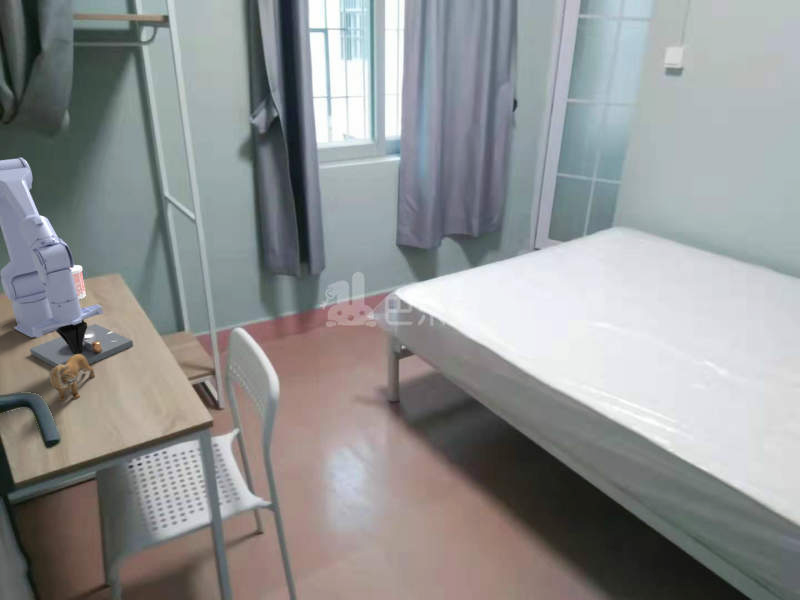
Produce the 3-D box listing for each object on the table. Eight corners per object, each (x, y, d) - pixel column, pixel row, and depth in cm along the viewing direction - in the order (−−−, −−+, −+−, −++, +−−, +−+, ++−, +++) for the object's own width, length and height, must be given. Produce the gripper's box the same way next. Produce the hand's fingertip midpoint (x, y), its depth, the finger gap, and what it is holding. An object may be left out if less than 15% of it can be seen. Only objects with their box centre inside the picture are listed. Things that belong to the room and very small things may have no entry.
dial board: (31, 354, 134) (29, 348, 134) (96, 329, 146) (95, 323, 146) (67, 374, 126) (65, 368, 125) (133, 345, 138) (132, 339, 138)
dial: (60, 345, 135) (58, 336, 134) (87, 334, 140) (85, 326, 139) (86, 358, 129) (84, 349, 128) (113, 346, 134) (111, 338, 133)
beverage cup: (76, 292, 168) (65, 247, 162) (93, 294, 167) (83, 249, 161) (60, 300, 163) (47, 254, 157) (77, 303, 161) (66, 256, 156)
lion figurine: (81, 407, 115) (70, 369, 111) (52, 411, 113) (40, 372, 110) (98, 370, 128) (89, 335, 124) (72, 373, 126) (62, 338, 123)
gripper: (37, 314, 116) (53, 371, 122) (105, 291, 127) (117, 344, 133) (20, 306, 120) (37, 362, 126) (87, 284, 131) (100, 337, 137)
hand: (77, 352), depth 129 cm, fingers closed
